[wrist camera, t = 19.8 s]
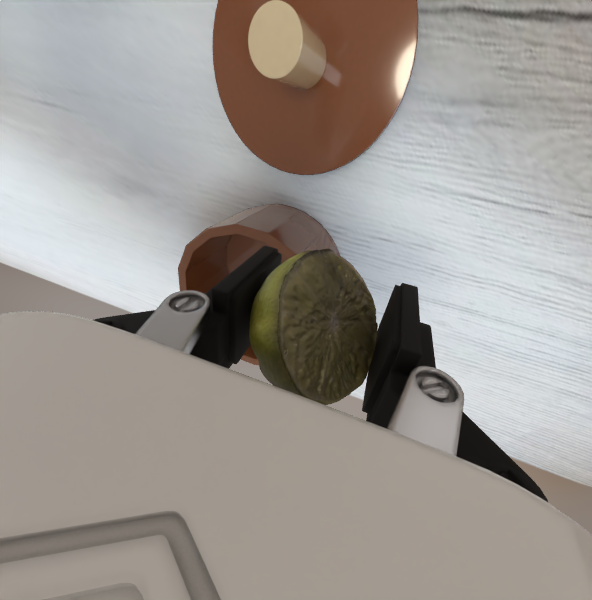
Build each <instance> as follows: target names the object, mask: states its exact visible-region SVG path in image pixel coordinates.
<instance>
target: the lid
mask: <svg viewBox="0 0 592 600" xmlns="http://www.w3.org/2000/svg"><path fill="white" fill-rule="evenodd" d="M417 39H418V7H417V0H218V4H217V8H216V13H215V21H214V29H213V62H214V70H215V78H216V83H217V87H218V91H219V95H220V98H221V101H222V104H223V107H224V110H225V112H226V114H227V117H228V119H229V121H230V123H231V125H232V126H233V128H234V130H235V132H236V133H237V134H238V136H239V137H240V139H241V140H242V141H243V143H244V144H245V145H246V146H247V147H248V148H249V149H250V150H251V151H252V152H253V153H254V154H255V155H256V156H257V157H259V158H260V159H261V160H263V161H264V162H266V163H267V164H269V165H270V166H272V167H275V168H277V169H279V170H282V171H285V172H288V173H293V174H299V175H313V174H320V173H325V172H328V171H332V170H335V169H337V168H339V167H341V166H344V165H346V164H347V163H349V162H351V161H352V160H354V159H355V158H357V157H358V156H360V155H361V154H362V153H363V152H364V151H366V150H367V149H368V148H369V147H370V146H371V145H372V144H373V143H374V142H375V141H376V140H377V139H378V138H379V136H380V135H381V134H382V133H383V131H384V130H385V129H386V127H387V126H388V124H389V123H390V121H391V120H392V118H393V116H394V115H395V113H396V111H397V109H398V107H399V105H400V103H401V101H402V99H403V97H404V94H405V91H406V88H407V86H408V83H409V80H410V77H411V73H412V68H413V64H414V60H415V54H416V46H417Z"/></svg>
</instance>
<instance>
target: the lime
mask: <svg viewBox="0 0 592 600" xmlns="http://www.w3.org/2000/svg"><path fill="white" fill-rule="evenodd" d="M375 315H376V309H375V305H374V301H373V298H372V296H371V294H370V292H369V290H368V289H367V286H366V284H365V283H364V280H363V279H362V277H361V276H360V274H359V273H358V272H357V271H356V270H355V268H354V267H353V265H351V264H350V263H349V262H348V261H346V260H345V259H344V258H342V257H341V256H339V255H336V254H335V253H334V251H333V250H331V249H321V250H311V251H306V252H302V253H299V254H297V255H295V256H293V257H291V258H289V259H288V260H286V261H285V262H284V263H282V264H281V265H279V266H278V267H277V268H275V269H274V271H272V272H271V273H270V275H269V276H268V277H267V278H266V280H265V281H264V283H263V284H262V286H261V288H260V290H259V291H258V292H257V295H256V296H255V298H254V301H253V305H252V310H251V314H250V322H249V323H250V330H249V334H250V335H249V337H250V343H251V347H252V350H253V352H254V354H255V356H256V357H257V359H258V361H259V366H260V370H261V372H262V373H263V375H264V376H265V378H266V379H267V380H268V381H269V382H270V383H272V384H273V386H275V387H278V388H281V389H283V390H286V391H289V392H291V393H294V394H297V395H299V396H302V397H305V398H307V399H310V400H313V401H315V402H318V403H320V404H323V405H328V404H332V403H334V402H337V401H339V400H341V399H343V398H344V397H346V396H347V395H349V394H351V392H352V391H354V390H355V389H357V388H358V387H360V386H361V385H362V384H363V382H364V379H365V378H366V376H367V373H368V370H369V366H370V364H371V361H372V358H373V354H374V350H375V346H376V337H377V327H378V325H377V323H376V316H375Z"/></svg>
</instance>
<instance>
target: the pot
mask: <svg viewBox="0 0 592 600" xmlns="http://www.w3.org/2000/svg"><path fill="white" fill-rule="evenodd" d="M263 246H269V247H273V248H276V249H278V253H281V254H282V260H281V264H282V263H284V262H285V261H286V260H288V259H289V258H291V257H293V256H295V255H297V254H299V253H302V252H306V251H311V250H321V249H331V250H333V251H334V253H335V254H336V255H339V252H338V249H337V247H336V245H335V243H334V241H333V239H332V238H331V236H330V235H329V234H328V232H327V231H326V230H325V229H324V228H323V226H322V225H321V224H320V223H318V222H317V221H316V220H315V219H314V218H312V217H311V216H309V215H308V214H306V213H304V212H302V211H300V210H298V209H296V208H293V207H290V206H286V205H280V204H266V205H261V206H257V207H254V208H248V209H246V210H244V211H242V212H240V213H238V214H236V215H234V216H232V217H230V218H228V219H226V220H223V221H221V222H219V223H217V224H215V225H213V226H211V227H209V228H207V229H205V230H204V231H203V232H202V233H200V234H199V235H198V236H197V237H196V238H194V239H193V240H192V241H191V242H190V243H188V244H187V245H186V247H185V250H184V253H183V256H182V259H181V261H180V264H179V267H178V274H179V285H180V291H186V290H192V291H198V292H202V293H204V294H205V293H207V292H208V291H209V290H210V289H212V288H213V287H214V286H215V285H216V284H218V283H219V282H220V281H221V280H223V279H224V278H225V277H226V276H227V275H229V274H230V273H231V272H232V271H234V270H235V269H236V268H237V267H239V266H240V265H241V264H242V263H244V262H245V261H246V260H247V259H248V258H250V257H251V256H252V255H253V254H255V253H256V252H257V251H258V250H259V249H261V248H262V247H263ZM339 256H340V255H339ZM241 360H244V361H246V362H249V363H252V364H254V365H259V361H258V359H257V357H256V356H255V354H254V352H253V350H252V347H251V345H250V347H249V348H248V349H247V351H246V352H245V353H244V355H243V356H242V358H241Z"/></svg>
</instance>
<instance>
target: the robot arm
mask: <svg viewBox="0 0 592 600" xmlns="http://www.w3.org/2000/svg"><path fill="white" fill-rule="evenodd" d="M281 260H282V254H281V253H278V249H276V248H273V247H269V246H263V247H262V248H261V249H259V250H258V251H257V252H256V253H255V254H253V255H252V256H251V257H250V258H248V259H247V260H246V261H245V262H244V263H242V264H241V265H240V266H239V267H237V268H236V269H235V270H234V271H232V272H231V273H230V274H229V275H227V276H226V277H225V278H224V279H223V280H221V281H220V282H219V283H218V284H216V285H215V286H214V287H213V288H212V289H210V290H209V291H208V292H207V293H205V294H204V293H202V292H198V291H192V290H186V291H179V292H176V293H173V294H171V295H169V296H168V297H167V298H166V299H165V300H164V301H163V302H162V303H161V305H160V306H159V307H158V308H157V309H156V310H153V311H146V312H140V313H133V314H126V315H119V316H112V317H106V318H100V319H95V320H90V319H86V318H82V317H78V316H74V315H67V314H61V313H54V312H36V311H32V312H31V311H28V312H12V313H6V314H1V315H0V600H592V534H590V533H589V532H588V531H587V530H585V529H584V528H583V527H582V526H580V525H579V524H578V523H576V522H575V521H574V520H572V519H571V518H569V517H568V516H566V515H565V514H564V513H562V512H561V511H559V510H558V509H556V508H555V507H554V506H552V505H551V504H549V503H548V500H547V498H546V497H545V496H544V494H543V492H542V491H541V489H540V488H539V487H538V486H537V484H536V483H535V482H534V481H533V480H532V479H531V478H530V477H529V476H528V475H527V474H526V473H525V472H524V471H523V470H522V469H521V468H520V467H519V466H518V465H517V464H516V463H515V462H514V461H513V460H512V459H511V458H510V457H509V456H508V455H507V454H506V453H505V452H504V451H503V450H501V449H500V448H499V447H498V446H497V445H496V444H495V443H494V442H493V441H492V440H491V439H490V438H489V437H488V436H487V435H486V434H485V433H484V432H483V431H482V430H481V429H480V428H479V427H478V426H477V425H476V424H475V423H474V422H473V421H472V420H471V419H470V418H469V417H468V416H467V415H466V414H464V413H463V405H464V393H463V391H462V389H461V387H460V386H459V384H458V383H457V382H456V381H455V380H454V379H453V378H452V377H451V376H449V375H448V374H446V373H445V372H443V371H441V370H439V369H436V366H435V357H434V349H433V341H432V333H431V327H430V325H427V324H424V323H421V322H420V317H419V302H418V288H417V287H415V286H412V285H408V284H405V283H402V284H401V286H398V285H395V287H394V290H393V292H392V295H391V297H390V300H389V302H388V305H387V308H386V310H385V313H384V315H383V318H382V320H381V323H380V325H379V328H378V331H377V337H376V346H375V350H374V354H373V358H372V361H371V364H370V366H369V370H368V377H367V383H366V389H365V395H364V402H363V408H362V411H363V412H366V413H367V420H366V421H365V420H362V419H360V418H357V417H354V416H352V415H349V414H347V413H344V412H341V411H339V410H336V409H333V408H331V407H328V406H326V405H323V404H320V403H318V402H315V401H313V400H310V399H307V398H305V397H302V396H299V395H297V394H294V393H291V392H289V391H286V390H283V389H281V388H278V387H275V386H273V385H270V384H268V383H265V382H262V381H259V380H257V379H254V378H252V377H249V376H246V375H244V374H241V373H238V372H236V371H233V370H230V369H229V368H230V366H231V365H232V364H233V363H234V364H237V363H238V362H239V360H240V359H241V358H242V356H243V355H244V353H245V352H246V351H247V349H248V348H249V347H250V345H251V343H250V337H249V335H250V334H249V330H250V323H249V322H250V314H251V310H252V305H253V301H254V298H255V296H256V295H257V292H258V291H259V290H260V288H261V286H262V284H263V283H264V281H265V280H266V278H267V277H268V276H269V275H270V273H271V272H272V271H274V269H275V268H277V267H278V266H279V265H281Z"/></svg>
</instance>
